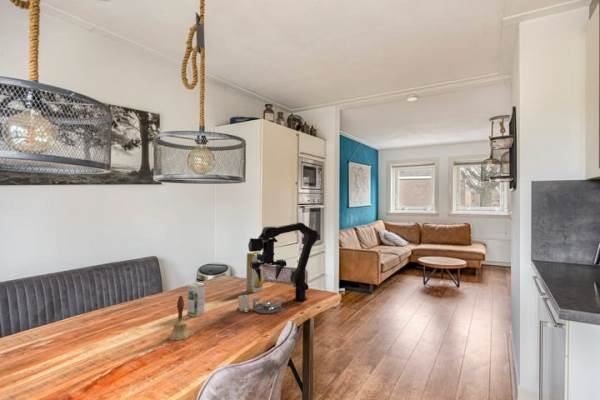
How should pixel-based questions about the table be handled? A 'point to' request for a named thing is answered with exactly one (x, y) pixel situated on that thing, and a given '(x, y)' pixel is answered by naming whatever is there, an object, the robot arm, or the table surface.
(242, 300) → the cream block with tab
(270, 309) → the lugged metal disc
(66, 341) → the table surface
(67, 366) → the table surface
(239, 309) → the rubber pad
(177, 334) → the hand bell
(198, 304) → the syrup box
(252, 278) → the juice carton
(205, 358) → the table surface
